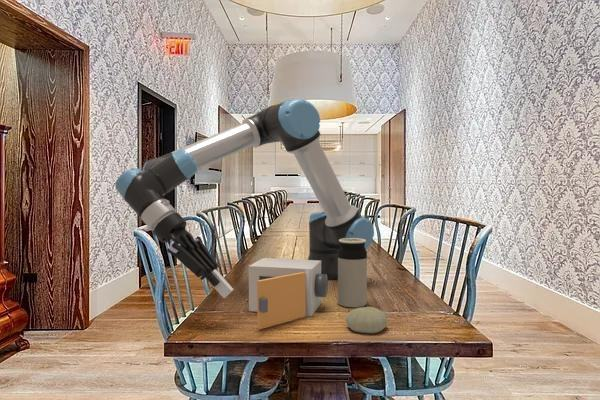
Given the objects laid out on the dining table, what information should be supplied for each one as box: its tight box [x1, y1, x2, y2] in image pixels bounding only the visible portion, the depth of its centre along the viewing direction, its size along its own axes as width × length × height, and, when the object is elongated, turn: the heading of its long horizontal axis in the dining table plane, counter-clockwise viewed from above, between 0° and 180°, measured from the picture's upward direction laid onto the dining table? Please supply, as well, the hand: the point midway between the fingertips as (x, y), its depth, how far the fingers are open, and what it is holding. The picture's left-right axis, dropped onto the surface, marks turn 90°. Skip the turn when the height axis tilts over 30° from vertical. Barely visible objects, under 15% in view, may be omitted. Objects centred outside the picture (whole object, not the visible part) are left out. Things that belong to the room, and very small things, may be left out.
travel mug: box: [337, 238, 368, 309], centre depth 121 cm, size 8×8×18 cm
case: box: [248, 257, 329, 318], centre depth 118 cm, size 19×13×12 cm
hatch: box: [256, 272, 306, 329], centre depth 104 cm, size 14×2×11 cm, turn 131°
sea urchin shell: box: [345, 306, 388, 334], centre depth 102 cm, size 9×8×8 cm
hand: (228, 293), depth 103 cm, fingers closed
